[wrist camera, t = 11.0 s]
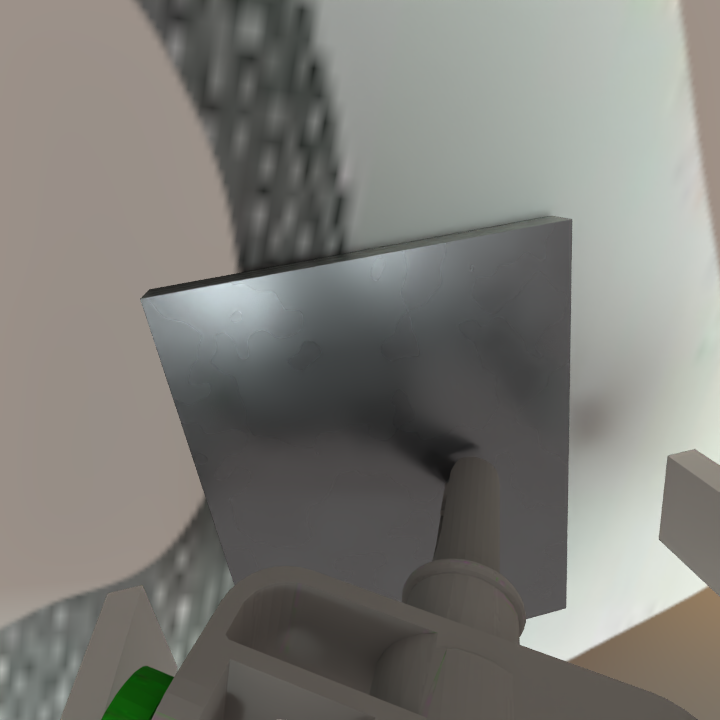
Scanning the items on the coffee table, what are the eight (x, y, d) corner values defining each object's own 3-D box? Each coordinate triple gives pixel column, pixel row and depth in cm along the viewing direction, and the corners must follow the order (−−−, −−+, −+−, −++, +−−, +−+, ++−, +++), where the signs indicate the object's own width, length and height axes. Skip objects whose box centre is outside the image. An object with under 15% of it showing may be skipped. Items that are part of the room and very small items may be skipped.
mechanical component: (321, 389, 15) (58, 739, 6) (674, 494, 13) (1018, 1177, 4) (308, 466, 16) (76, 849, 7) (629, 570, 15) (827, 1220, 6)
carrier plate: (149, 289, 13) (140, 299, 12) (551, 216, 14) (572, 219, 13) (269, 663, 18) (269, 689, 17) (551, 587, 19) (566, 608, 18)
